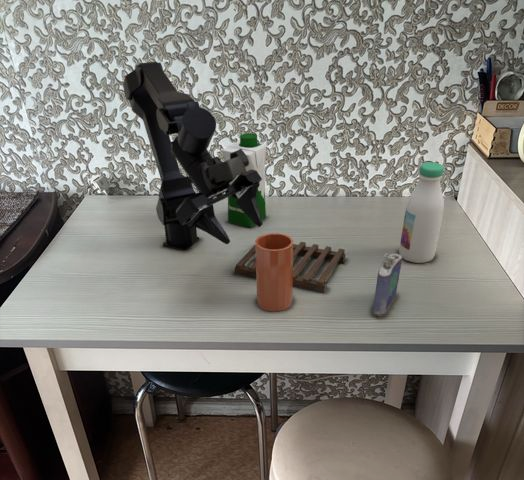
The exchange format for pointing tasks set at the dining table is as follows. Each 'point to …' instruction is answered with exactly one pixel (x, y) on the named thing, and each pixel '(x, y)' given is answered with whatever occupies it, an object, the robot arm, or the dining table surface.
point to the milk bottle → (423, 216)
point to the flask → (387, 283)
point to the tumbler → (274, 271)
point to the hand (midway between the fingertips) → (245, 234)
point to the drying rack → (301, 265)
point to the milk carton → (256, 162)
